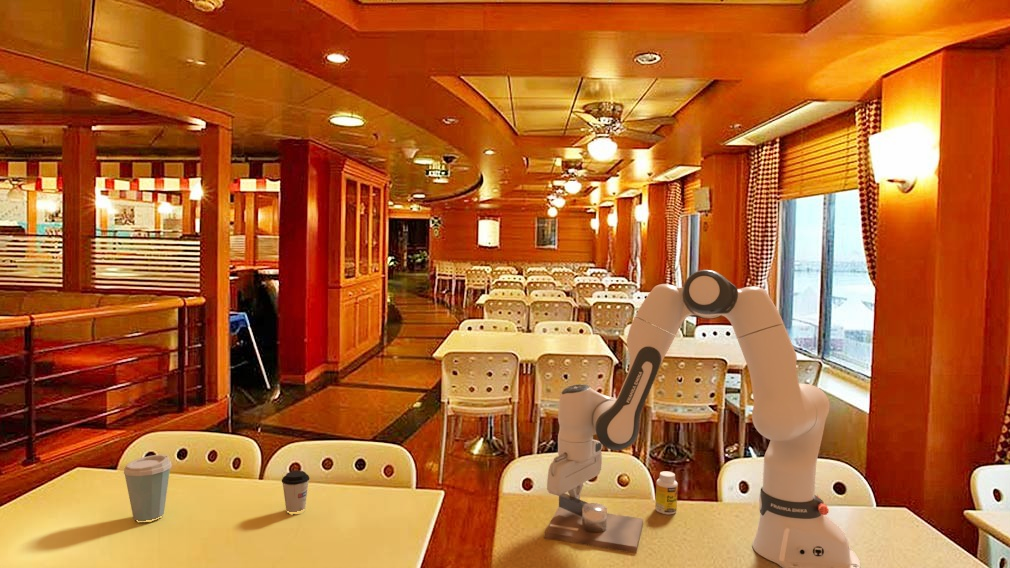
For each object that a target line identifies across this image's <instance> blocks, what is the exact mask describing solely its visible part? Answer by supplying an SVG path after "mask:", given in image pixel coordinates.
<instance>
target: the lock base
mask: <svg viewBox="0 0 1010 568" xmlns="http://www.w3.org/2000/svg"><path fill="white" fill-rule="evenodd" d="M643 526H644V518H642V517H635V516H627V515H622V514H615V513H614V514H613V513H608V512H607V528H606V530H604V531H602V532H591V531H587V530H585V529H584V528H583V527H582V516H579V515H577V514H575V513H572V512H570V511H568V510H565V509H563V508H561V507H559V506H558V507H557V509H556V511H555V512H554V514H553V516H552V517H551V520H550V521H549V523H548V525H547V527H546V529H545V530H544V532H543V534H544V535H543V538H544V539H548V540H554V541H560V542H566V543H572V544H573V543H574V544H578V545H584V546H585V545H586V546H590V547H596V548H603V549H609V550H614V551H615V550H616V551H621V552H627V553H633V554H637V552H638V549H639V548H638V547H639V544H640V540H641V536H642V532H643Z"/></svg>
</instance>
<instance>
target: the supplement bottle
mask: <svg viewBox="0 0 1010 568" xmlns="http://www.w3.org/2000/svg"><path fill="white" fill-rule="evenodd" d="M655 484H656V486H655V510H656V511H657V512H658V513H659V514H663V515H673V514H676V512H677V509H678V508H677V506H678V505H677V504H678V489H679V487H678V485H679V483H678V482H677V480H676V474H675V473H674V472H672V471H660V472H659V478H658V479H657V480H656V483H655Z"/></svg>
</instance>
